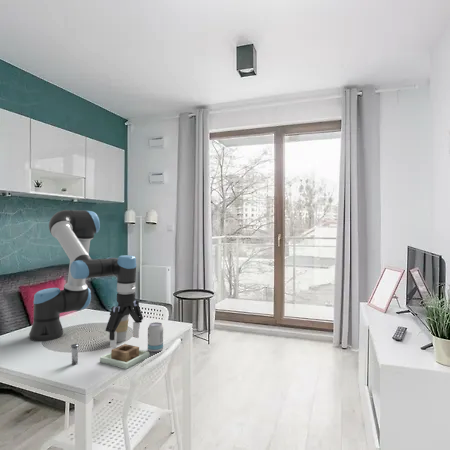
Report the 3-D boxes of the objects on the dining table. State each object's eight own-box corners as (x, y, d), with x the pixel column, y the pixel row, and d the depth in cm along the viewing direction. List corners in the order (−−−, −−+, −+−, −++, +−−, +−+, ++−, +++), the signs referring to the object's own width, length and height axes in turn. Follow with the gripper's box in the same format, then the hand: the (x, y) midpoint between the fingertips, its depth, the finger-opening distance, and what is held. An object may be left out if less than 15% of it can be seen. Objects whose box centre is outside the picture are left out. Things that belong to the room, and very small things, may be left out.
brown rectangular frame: (111, 359, 143) (111, 349, 143) (124, 353, 150) (124, 343, 150) (129, 363, 139) (129, 354, 139) (141, 357, 146) (142, 347, 146)
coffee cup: (123, 344, 163) (124, 312, 163) (105, 342, 165) (106, 311, 165) (132, 337, 172) (133, 307, 172) (115, 336, 174) (116, 306, 174)
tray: (100, 362, 142) (100, 357, 142) (124, 350, 154) (124, 346, 154) (126, 368, 135) (126, 363, 135) (149, 356, 148) (149, 352, 148)
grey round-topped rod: (69, 364, 139) (69, 345, 139) (75, 361, 142) (75, 343, 142) (74, 365, 138) (74, 346, 138) (79, 363, 140) (80, 344, 140)
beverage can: (148, 347, 158) (148, 322, 158) (163, 347, 159) (164, 321, 159) (146, 353, 152) (146, 326, 152) (162, 353, 152) (162, 326, 152)
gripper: (111, 299, 132) (109, 354, 132) (151, 288, 154) (150, 335, 155) (96, 296, 135) (95, 350, 136) (138, 286, 158) (137, 332, 158)
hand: (124, 342), depth 145 cm, fingers open, 13 cm apart
